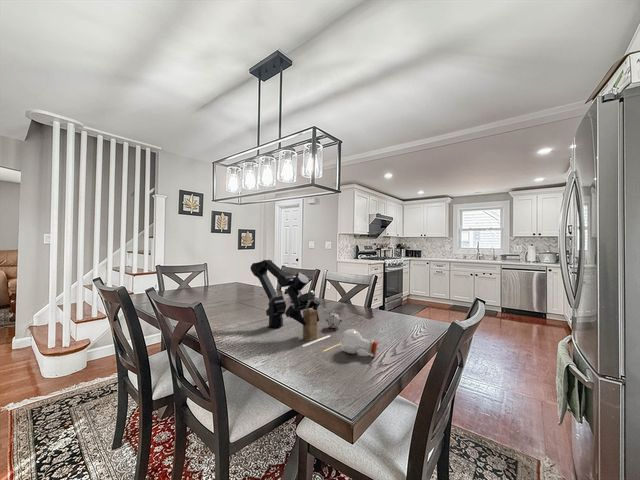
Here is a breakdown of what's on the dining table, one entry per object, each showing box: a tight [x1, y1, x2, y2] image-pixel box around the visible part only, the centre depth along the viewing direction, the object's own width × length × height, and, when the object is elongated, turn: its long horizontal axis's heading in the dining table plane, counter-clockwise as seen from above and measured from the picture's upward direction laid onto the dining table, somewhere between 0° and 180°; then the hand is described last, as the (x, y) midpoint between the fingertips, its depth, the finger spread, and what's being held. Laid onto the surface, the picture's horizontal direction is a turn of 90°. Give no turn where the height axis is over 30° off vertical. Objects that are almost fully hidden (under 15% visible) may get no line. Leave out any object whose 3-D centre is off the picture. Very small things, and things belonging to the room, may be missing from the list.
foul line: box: [301, 334, 331, 348], centre depth 123 cm, size 18×2×1 cm, turn 138°
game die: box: [325, 311, 342, 330], centre depth 141 cm, size 9×8×10 cm
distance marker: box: [322, 342, 341, 353], centre depth 116 cm, size 14×1×1 cm, turn 138°
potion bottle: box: [339, 328, 379, 357], centre depth 109 cm, size 9×10×15 cm
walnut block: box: [302, 308, 318, 342], centre depth 126 cm, size 5×5×14 cm
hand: (312, 323), depth 125 cm, fingers open, 8 cm apart
